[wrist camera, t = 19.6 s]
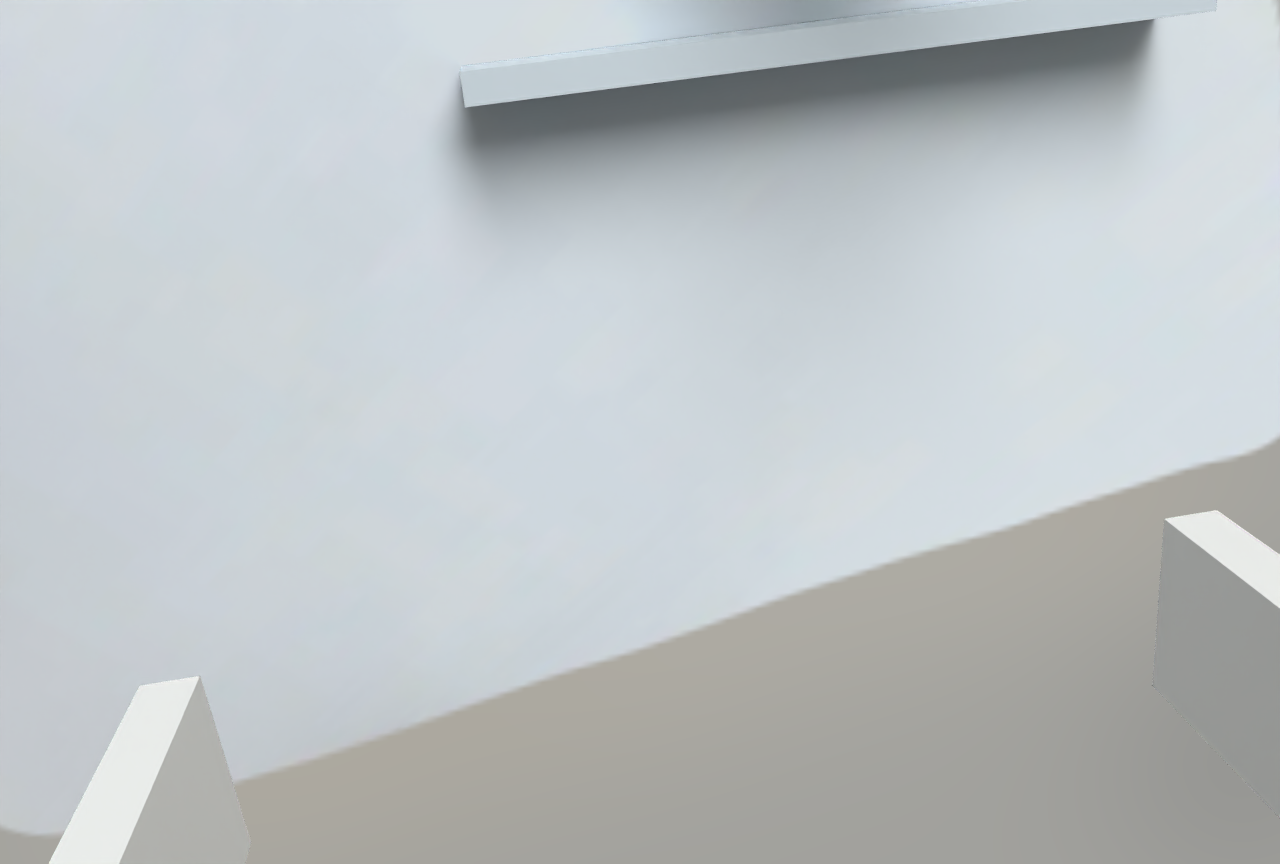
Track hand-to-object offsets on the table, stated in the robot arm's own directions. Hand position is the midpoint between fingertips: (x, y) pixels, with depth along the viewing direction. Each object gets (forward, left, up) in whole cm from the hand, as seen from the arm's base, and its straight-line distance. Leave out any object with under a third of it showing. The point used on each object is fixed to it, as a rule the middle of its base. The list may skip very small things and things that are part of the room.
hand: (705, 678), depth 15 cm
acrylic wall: (+11, +6, -33) cm, 35 cm away
